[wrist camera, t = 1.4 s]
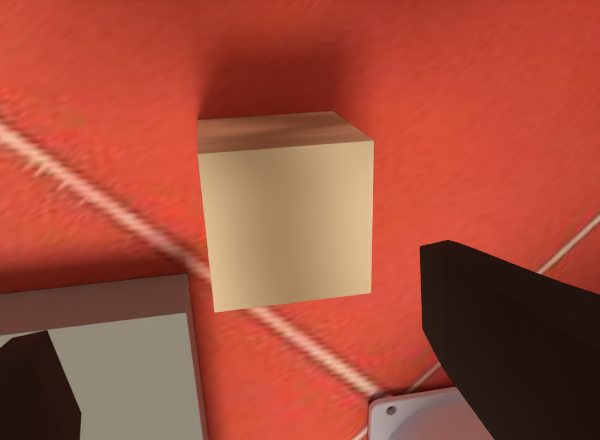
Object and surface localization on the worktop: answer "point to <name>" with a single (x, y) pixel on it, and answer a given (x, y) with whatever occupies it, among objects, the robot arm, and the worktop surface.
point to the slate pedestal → (121, 354)
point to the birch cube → (286, 208)
